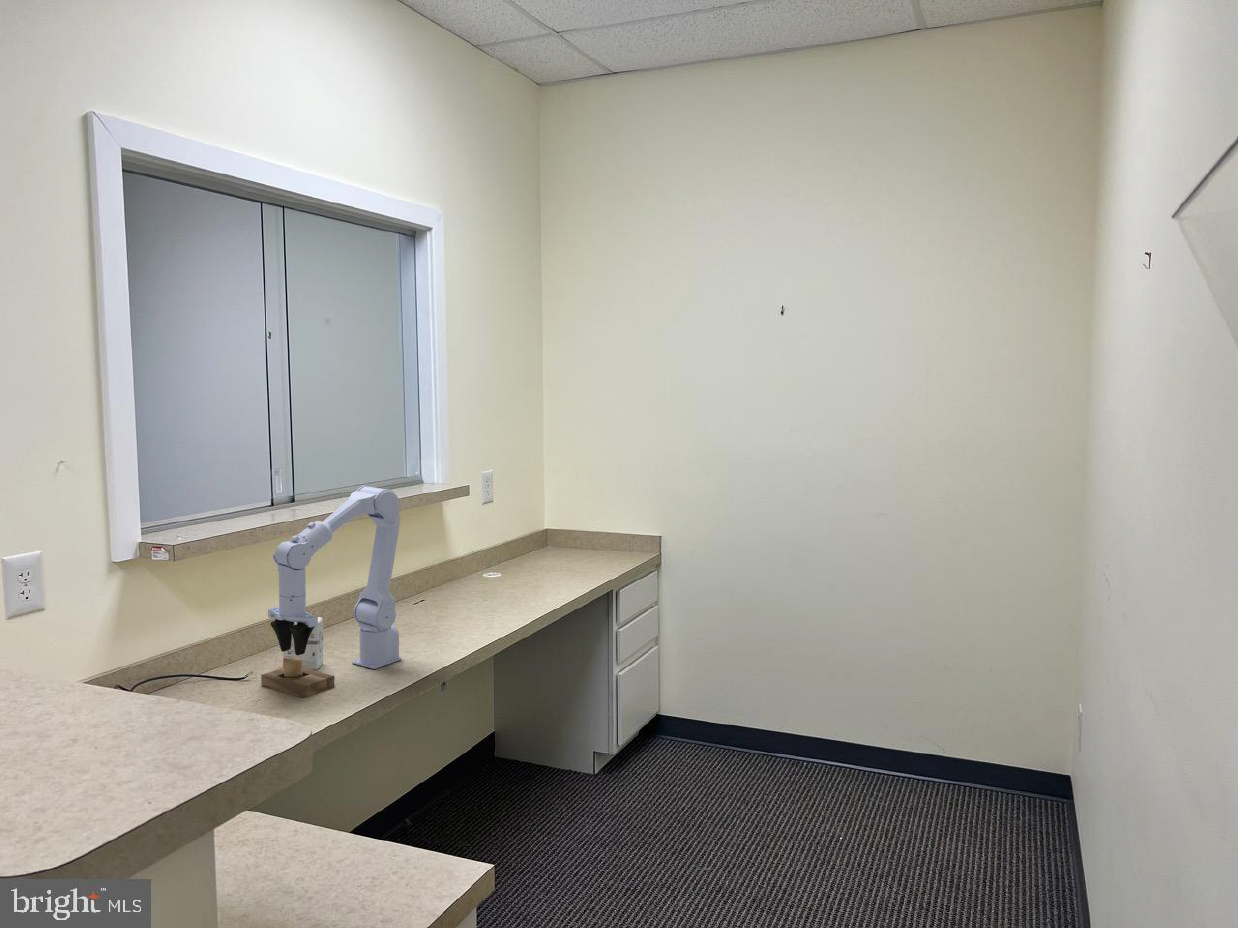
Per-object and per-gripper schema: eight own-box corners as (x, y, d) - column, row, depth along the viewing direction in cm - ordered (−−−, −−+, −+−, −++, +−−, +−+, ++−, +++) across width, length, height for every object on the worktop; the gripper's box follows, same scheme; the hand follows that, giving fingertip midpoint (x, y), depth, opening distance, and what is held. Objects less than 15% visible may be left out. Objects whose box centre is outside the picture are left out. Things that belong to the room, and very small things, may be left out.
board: (293, 674, 219) (293, 664, 219) (334, 686, 212) (334, 675, 212) (261, 685, 212) (261, 674, 211) (303, 697, 205) (303, 686, 204)
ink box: (281, 669, 223) (281, 621, 222) (288, 662, 228) (288, 616, 227) (317, 670, 223) (317, 622, 222) (323, 663, 228) (323, 617, 227)
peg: (295, 681, 215) (294, 656, 214) (306, 685, 213) (306, 659, 212) (280, 686, 211) (279, 660, 211) (291, 689, 209) (291, 664, 209)
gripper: (256, 592, 210) (257, 650, 211) (300, 602, 203) (300, 662, 204) (282, 587, 216) (282, 643, 218) (325, 596, 209) (325, 654, 210)
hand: (292, 652), depth 211 cm, fingers open, 4 cm apart
